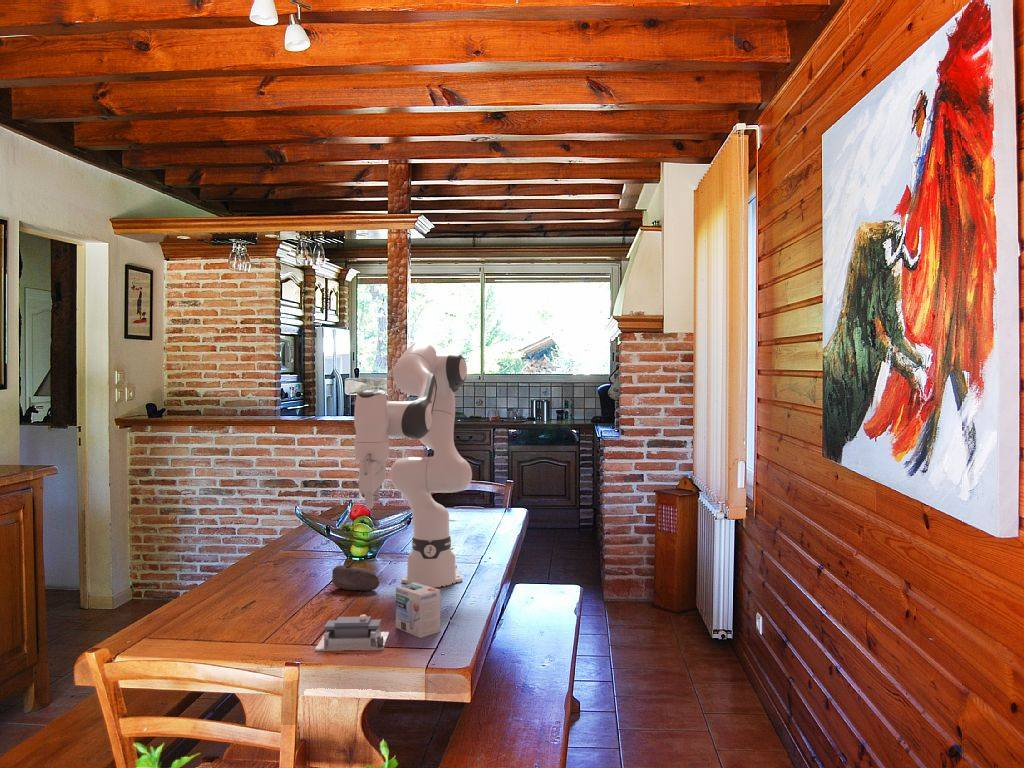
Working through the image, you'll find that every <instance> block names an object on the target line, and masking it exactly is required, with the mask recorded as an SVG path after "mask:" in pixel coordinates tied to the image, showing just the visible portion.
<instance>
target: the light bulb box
mask: <svg viewBox="0 0 1024 768" xmlns="http://www.w3.org/2000/svg"><path fill="white" fill-rule="evenodd" d="M395 628H396V629H398V630H401V631H403V632H405V633H408V634H409V635H412V636H415V637H416V638H418V639H422V638H425V637H428V636H431V635H434V634H437V633H440V632H441V589H439V588H436V587H434V588H432V587H429V586H426V585H423V584H420V583H417V582H413V583H410V584H407V583H405V584H404V585H403V584H402V585H399V586H396V587H395Z"/></svg>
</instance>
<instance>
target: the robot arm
mask: <svg viewBox="0 0 1024 768" xmlns="http://www.w3.org/2000/svg"><path fill="white" fill-rule="evenodd" d="M467 374H468V367H467V363H466V360H465V358H464V357H463V356H462V355H461V354H459V353H455V352H454V353H453V352H450V353H444V352H443V353H442V352H441V353H440V352H439V353H437V351H436V349H435V348H434V347H433V346H432V345H431V344H429V343H428V342H426V341H425V342H423V341H419V342H418V341H417V342H414V343H413V344H412V345H410V346H408V348H407V349H406V350H405V351H404V352H403V353H402V355H401V356H399V358H398V360H397V362H396V363H395V365H394V367H393V371H392V379H393V382H394V384H395V385H396V387H397V389H399V390H400V391H401V392H402V393H404V394H406V395H409V396H414V397H417V399H415V400H407V401H406V400H405V401H401V400H400V401H399V400H397V401H396V400H395V401H394V400H393V401H391V400H389V399H388V397H387V392H386V391H385V390H382V389H376V388H375V389H373V388H372V389H364V390H362V391H360V392H358V393H357V394H356V398H355V401H354V402H355V403H354V412H353V415H354V416H353V418H354V419H353V420H354V421H353V422H354V423H353V425H354V427H355V429H354V430H355V436H354V460H356V461H359V468H358V469H359V470H358V491H359V494H363V497H364V502H365V509H366V510H373V508H374V505H375V504H374V503H378V502H380V492H381V491H380V490H381V485H382V484H383V483H384V482H385V480H386V479H385V478H386V470H387V460H389V458H390V439H389V437H390V438H410V439H418V441H420V443H421V444H423V446H425V447H427V448H428V449H430V450H433V456H407V457H402V458H398V459H396V460H395V461H394V462H393V464H392V466H391V467H390V471H389V479H390V482H391V484H392V486H393V487H394V489H396V490H398V491H399V493H401V494H402V496H404V498H405V499H406V502H407V503H408V504H409V508H410V510H411V514H412V523H413V524H412V525H413V536H412V540H411V548H412V551H411V552H410V553H409V554H408V555H407V560H406V561H407V563H406V564H407V565H406V567H407V571H406V575H404V576H403V577H402V578H401V583H403V584H410V583H413V582H417V583H420V584H423V585H426V586H429V587H432V588H442V587H441V586H443V587H447V586H450V585H453V584H456V582H457V583H461V581H462V582H463V577H462V575H461V574H460V572H459V570H458V566H457V564H456V555H455V554H454V552H453V551H452V549H451V547H452V538H451V535H450V513H449V511H448V510H447V508H446V507H445V506H444V505H442V504H440V503H438V502H437V501H435V499H434V498H433V496H432V494H431V493H443V494H445V493H446V494H447V493H458V492H462V491H466V490H467V488H468V487H469V486H470V484H471V482H472V478H473V472H472V471H473V470H472V467H471V465H470V463H469V462H468V461H467V460H466V459H465V458H464V457H463V456H461V454H460V453H459V452H458V449H457V448H456V446H455V445H456V444H455V441H454V439H455V438H454V437H455V436H454V432H455V431H454V430H455V419H456V396H455V392H457V391H458V390H459V389H460V387H462V386H463V384H464V383H465V380H467ZM452 583H453V584H452ZM446 585H447V586H446Z"/></svg>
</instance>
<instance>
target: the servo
mask: <svg viewBox="0 0 1024 768" xmlns="http://www.w3.org/2000/svg"><path fill="white" fill-rule="evenodd" d="M380 624H382V619H372V616H370V615H369V616H367V614H360V615H359V616H337V619H336V620H335V619H333V620H332V619H329V620H327V622H326V623H325V625H324V626H323V630H324V631H326V630H335V637H371V629H379V627H380Z"/></svg>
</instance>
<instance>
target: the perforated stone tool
mask: <svg viewBox="0 0 1024 768" xmlns="http://www.w3.org/2000/svg"><path fill="white" fill-rule="evenodd" d="M331 579H332V580H331V581H332V584H333V586H335V587H336V588H339V589H341V590H348V591H356V590H361V592H362V590H363V592H369V591H370V590H371V591H373V590H376V589H378V587H379V586H380V580H379V577H378V576H377V575H376V574H375V573H374V572H372V571H371V570H368V569H367V568H366V569H365V568H363V567H362V568H361V567H357V566H351V565H345V564H344V565H342V564H341V565H336V566H335V567H334V568H333V569H332V575H331Z"/></svg>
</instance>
